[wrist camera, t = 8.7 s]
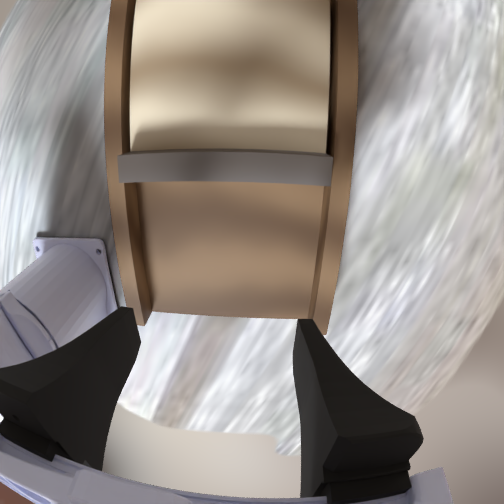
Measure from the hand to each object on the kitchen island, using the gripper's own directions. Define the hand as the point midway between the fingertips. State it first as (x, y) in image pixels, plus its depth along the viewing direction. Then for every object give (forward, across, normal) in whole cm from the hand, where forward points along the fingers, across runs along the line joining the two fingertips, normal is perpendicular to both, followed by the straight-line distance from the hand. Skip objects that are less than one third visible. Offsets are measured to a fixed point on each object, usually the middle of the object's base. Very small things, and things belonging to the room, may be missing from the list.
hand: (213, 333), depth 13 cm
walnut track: (+10, 0, -8) cm, 13 cm away
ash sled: (+9, 0, -11) cm, 15 cm away
